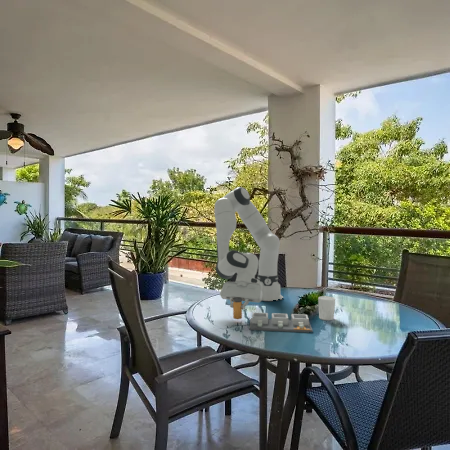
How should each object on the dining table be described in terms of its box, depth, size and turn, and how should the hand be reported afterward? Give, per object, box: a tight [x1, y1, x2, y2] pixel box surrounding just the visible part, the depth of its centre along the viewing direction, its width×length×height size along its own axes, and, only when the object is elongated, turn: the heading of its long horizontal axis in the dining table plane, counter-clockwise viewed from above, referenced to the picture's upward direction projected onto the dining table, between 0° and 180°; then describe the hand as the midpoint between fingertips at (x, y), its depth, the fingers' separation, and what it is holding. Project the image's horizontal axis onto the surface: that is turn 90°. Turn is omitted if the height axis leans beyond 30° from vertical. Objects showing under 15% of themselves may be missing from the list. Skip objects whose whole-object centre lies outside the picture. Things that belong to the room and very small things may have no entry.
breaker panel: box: [248, 311, 314, 333], centre depth 161 cm, size 14×27×4 cm, turn 84°
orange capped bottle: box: [232, 298, 243, 320], centre depth 166 cm, size 4×4×9 cm
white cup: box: [317, 295, 336, 321], centre depth 174 cm, size 8×8×10 cm
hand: (237, 307), depth 166 cm, fingers closed on orange capped bottle, 4 cm apart
